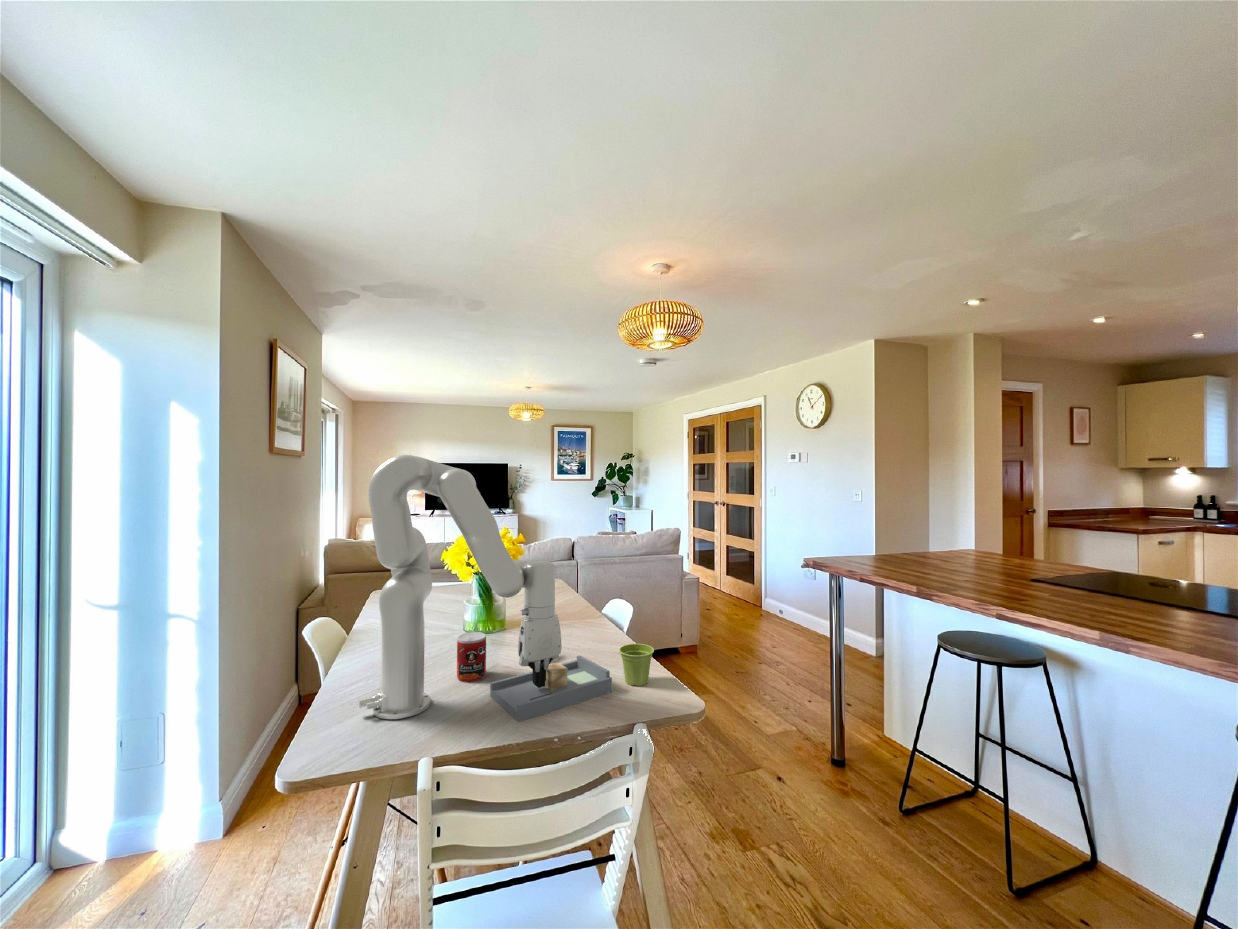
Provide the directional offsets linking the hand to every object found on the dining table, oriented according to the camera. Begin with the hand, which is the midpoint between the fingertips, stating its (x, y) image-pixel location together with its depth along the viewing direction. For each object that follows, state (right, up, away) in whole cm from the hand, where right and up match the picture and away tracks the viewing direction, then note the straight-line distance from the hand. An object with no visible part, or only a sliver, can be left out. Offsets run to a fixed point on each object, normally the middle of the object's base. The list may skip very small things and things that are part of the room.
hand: (539, 685), depth 125 cm
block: (+4, -1, +3) cm, 5 cm away
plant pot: (+25, -4, +10) cm, 27 cm away
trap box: (+3, -3, +2) cm, 5 cm away
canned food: (-21, -4, +13) cm, 25 cm away
